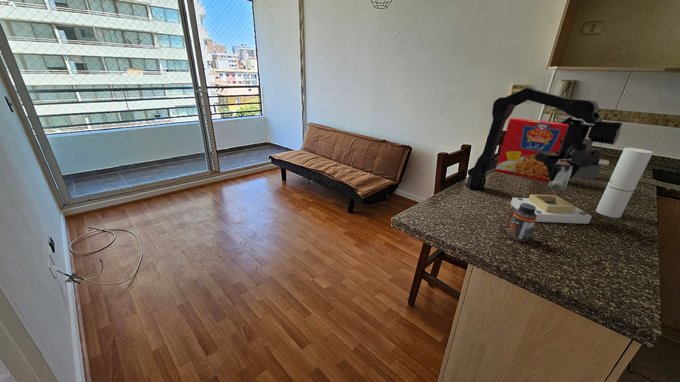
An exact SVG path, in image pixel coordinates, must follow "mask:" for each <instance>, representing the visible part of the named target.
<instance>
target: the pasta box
mask: <svg viewBox="0 0 680 382" xmlns="http://www.w3.org/2000/svg"><path fill="white" fill-rule="evenodd" d="M567 127H568V124H562V123H561V122H553V121H544V120H534V119H524V118H517V117H516V118H515V117H510V119H509V120H508V124H507V127H506V131H505V134H504V136H503V137H504V138H503V142H502V145H501V148H500V152H499V156H498V158H497V159H498V162H497V164H496V168H495V169H494V172H495V173H498V174H500V173H501V174H505V175H510V176H514V177H520V178H525V179H530V180H535V181H539V182H544V183H547V184H548V183H549V181H550V180H549V175H548V171H547V167H546V164H545V163H543V162H540V161H538V160H536V159H535V157H536V155H537V153H539V152H549V153H552V154H554V155H557V154H555V153H556V151H559V150H560V147H561V144H562V143H559V141H560V140H563V138H564V136H565V133H566V130H567ZM560 162H563V163H567V161H560Z"/></svg>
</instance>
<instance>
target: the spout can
mask: <svg viewBox="0 0 680 382" xmlns="http://www.w3.org/2000/svg"><path fill="white" fill-rule="evenodd" d="M559 164H560V165H562V166H561V167H559V168H558V170H557V172H556V175H555V178H554V180H553V181H549V183H548V182H547V187H548V188H550V189H552V190H556V191H565V190H566V187H567V186H568V182H569V181H570V180H569V178H570V175H571V173H572V170H573V167H574V165H572V164H568V163H563V162H560V163H559ZM568 180H569V181H568Z"/></svg>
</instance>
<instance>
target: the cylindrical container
mask: <svg viewBox="0 0 680 382" xmlns="http://www.w3.org/2000/svg"><path fill="white" fill-rule="evenodd" d="M653 153H654V151H651V150H646V149H643V148H642V149H641V148H635V147H624V148H623V150H622V153H621V154H620V157H619V159H618V161H617V163H616V166H615V168H614V170H613V172H612V175H611V176H610V179H609V181H608V183H607V185H606V188H605V189H604V192H603V194H602V197H601V198H600V200H599V202H598V205H597V207H596V209H595V212H597V214H600V215H602V216H605V217H609V218H615V219H618V218H622V215H623V213H624V212H625V209H626V207H627V205H628V203H629V202H630V199H631V197H632V196H633V193H634V191H635V189H636V187H637V186H638V183H639V181H640V179H641V178H642V176H643V174H644V171H645V170H646V167H647V165H648V164H649V162H650V160H651V157H652V156H653Z"/></svg>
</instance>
